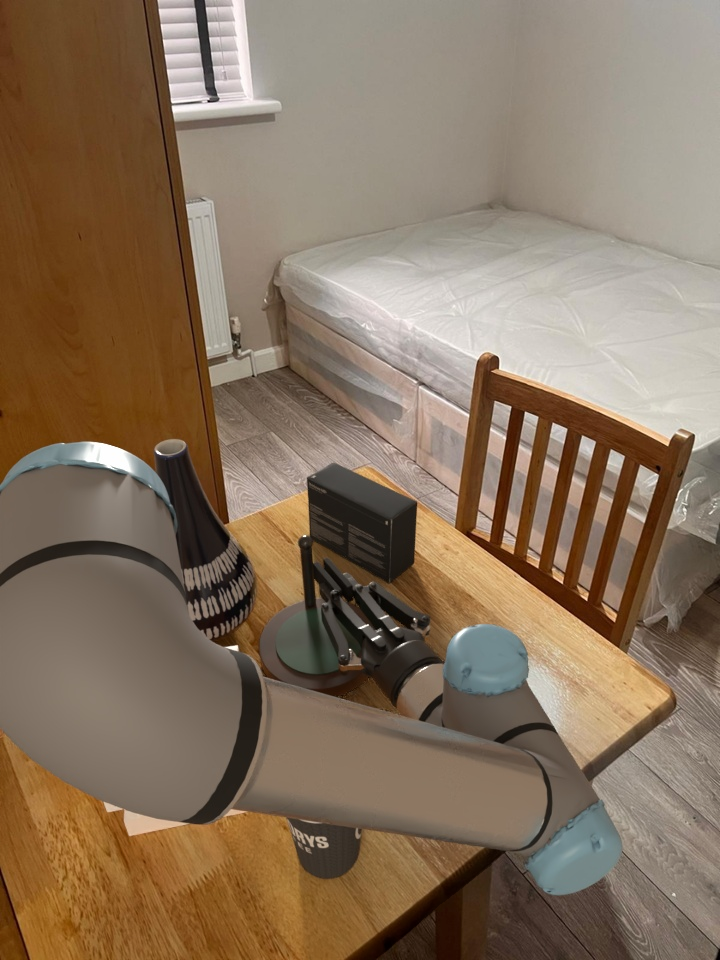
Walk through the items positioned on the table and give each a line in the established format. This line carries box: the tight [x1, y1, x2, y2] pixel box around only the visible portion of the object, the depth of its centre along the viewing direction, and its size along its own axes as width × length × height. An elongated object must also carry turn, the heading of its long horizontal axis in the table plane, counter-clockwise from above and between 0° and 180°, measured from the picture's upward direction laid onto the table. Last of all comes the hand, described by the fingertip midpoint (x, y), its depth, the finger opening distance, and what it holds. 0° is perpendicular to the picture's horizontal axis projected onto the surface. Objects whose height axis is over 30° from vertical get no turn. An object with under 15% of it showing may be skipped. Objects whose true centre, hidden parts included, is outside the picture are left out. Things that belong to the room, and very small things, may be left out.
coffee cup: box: [285, 817, 363, 880], centre depth 72 cm, size 10×10×15 cm
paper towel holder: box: [258, 534, 376, 697], centre depth 94 cm, size 16×16×14 cm
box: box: [306, 461, 418, 584], centre depth 112 cm, size 17×7×12 cm, turn 49°
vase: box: [153, 438, 259, 644], centre depth 94 cm, size 16×16×30 cm
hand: (320, 567), depth 98 cm, fingers closed
